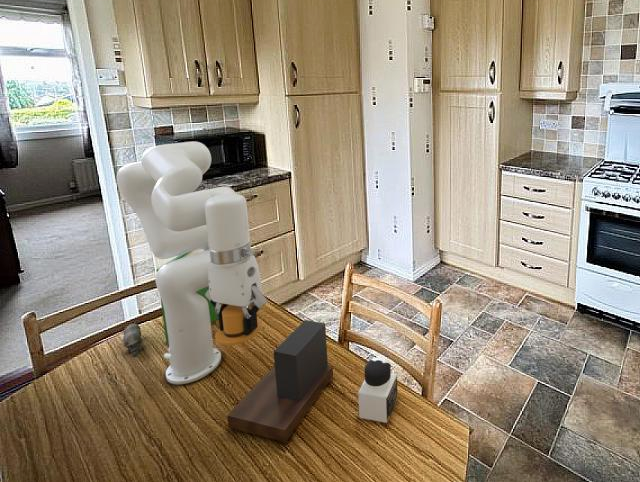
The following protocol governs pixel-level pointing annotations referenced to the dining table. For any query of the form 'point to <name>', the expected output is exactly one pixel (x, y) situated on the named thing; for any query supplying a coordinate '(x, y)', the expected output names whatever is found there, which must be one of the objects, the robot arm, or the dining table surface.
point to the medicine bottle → (378, 391)
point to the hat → (234, 327)
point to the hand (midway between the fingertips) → (238, 328)
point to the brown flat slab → (274, 408)
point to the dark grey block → (300, 360)
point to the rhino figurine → (132, 339)
